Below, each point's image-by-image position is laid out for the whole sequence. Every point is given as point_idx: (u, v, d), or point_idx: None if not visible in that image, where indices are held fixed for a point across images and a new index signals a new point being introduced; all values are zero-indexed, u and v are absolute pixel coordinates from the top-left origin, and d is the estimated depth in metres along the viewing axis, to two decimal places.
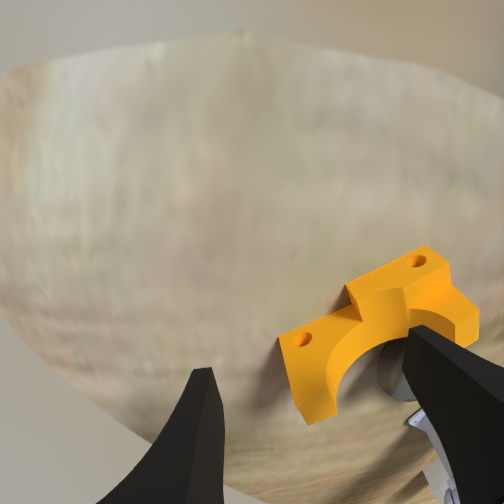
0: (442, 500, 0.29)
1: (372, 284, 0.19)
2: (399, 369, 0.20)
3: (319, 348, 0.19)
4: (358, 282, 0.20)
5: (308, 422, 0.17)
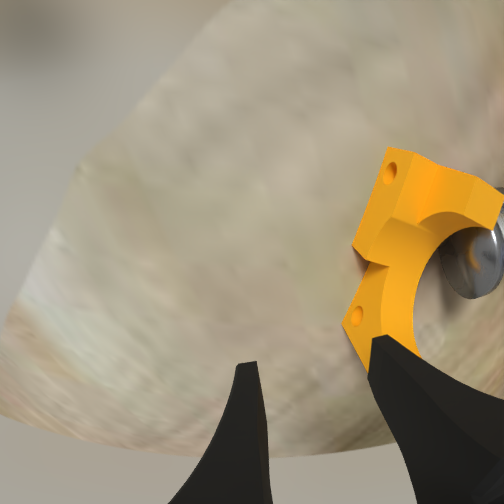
0: None
1: (369, 230, 0.18)
2: (462, 268, 0.17)
3: (371, 318, 0.18)
4: (359, 235, 0.19)
5: None
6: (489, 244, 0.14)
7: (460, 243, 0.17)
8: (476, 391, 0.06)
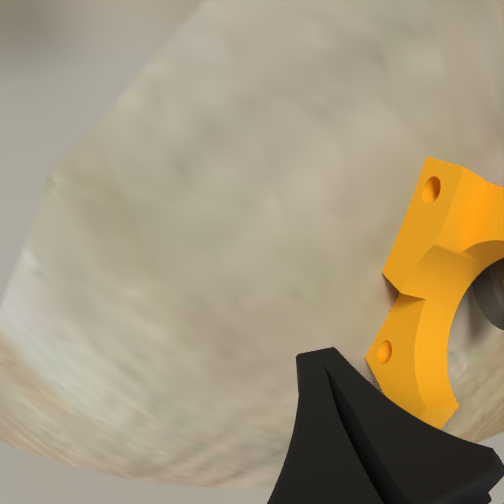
0: None
1: (405, 258, 0.14)
2: (498, 295, 0.14)
3: (402, 357, 0.15)
4: (392, 262, 0.15)
5: None
6: None
7: (497, 267, 0.14)
8: (413, 418, 0.06)
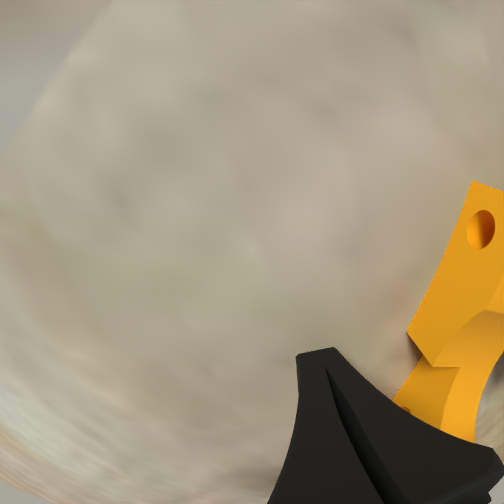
0: None
1: (440, 319, 0.10)
2: None
3: None
4: (421, 321, 0.11)
5: None
6: None
7: None
8: (413, 418, 0.06)
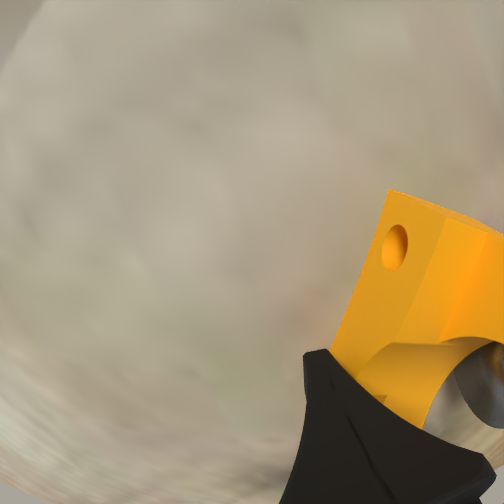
0: None
1: (354, 346, 0.10)
2: (482, 378, 0.09)
3: None
4: (340, 344, 0.11)
5: None
6: None
7: None
8: (403, 421, 0.06)
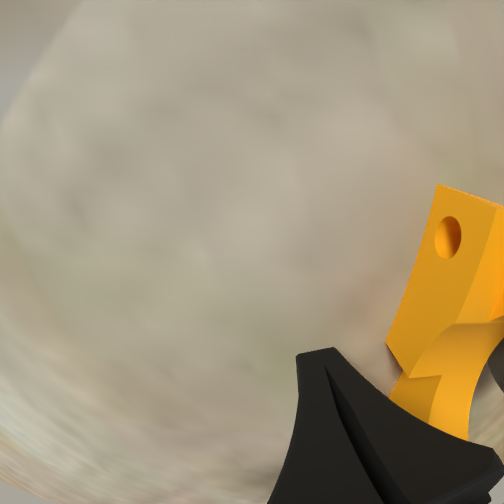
0: None
1: (414, 331, 0.10)
2: None
3: None
4: (397, 331, 0.11)
5: None
6: None
7: None
8: (413, 418, 0.06)
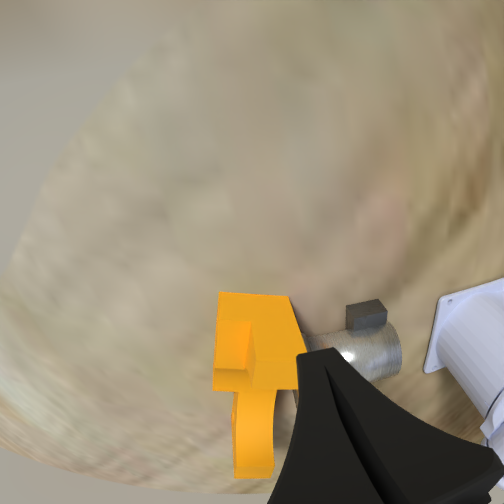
0: None
1: None
2: (295, 392, 0.20)
3: (234, 425, 0.21)
4: (213, 364, 0.21)
5: (266, 477, 0.19)
6: None
7: None
8: (413, 418, 0.06)
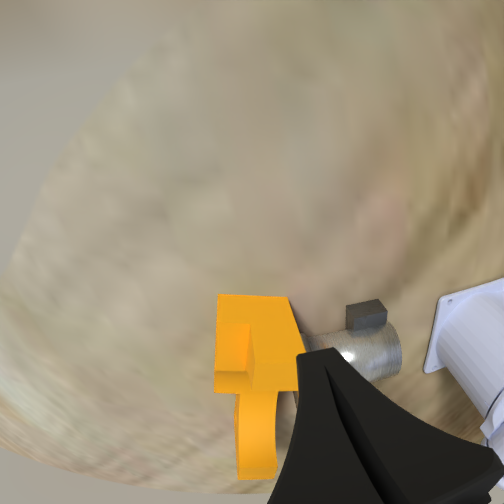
0: None
1: None
2: (295, 392, 0.20)
3: (237, 427, 0.21)
4: None
5: (269, 478, 0.19)
6: None
7: None
8: (413, 418, 0.06)
